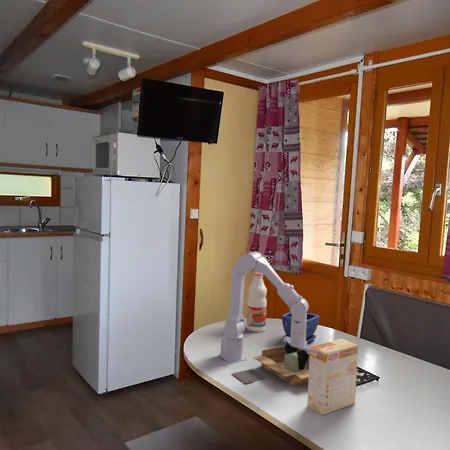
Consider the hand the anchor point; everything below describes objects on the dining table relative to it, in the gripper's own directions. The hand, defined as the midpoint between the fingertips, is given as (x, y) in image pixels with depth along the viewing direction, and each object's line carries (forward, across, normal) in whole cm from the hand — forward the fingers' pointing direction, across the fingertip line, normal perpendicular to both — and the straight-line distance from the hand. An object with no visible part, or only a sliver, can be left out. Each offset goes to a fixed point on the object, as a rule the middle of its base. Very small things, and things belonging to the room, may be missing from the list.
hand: (296, 366), depth 159 cm
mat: (+2, +4, +19) cm, 19 cm away
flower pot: (+2, +26, -24) cm, 35 cm away
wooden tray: (+2, -2, +2) cm, 3 cm away
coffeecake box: (+2, -25, +7) cm, 26 cm away
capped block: (+2, 0, 0) cm, 2 cm away
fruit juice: (+2, +48, -15) cm, 50 cm away
